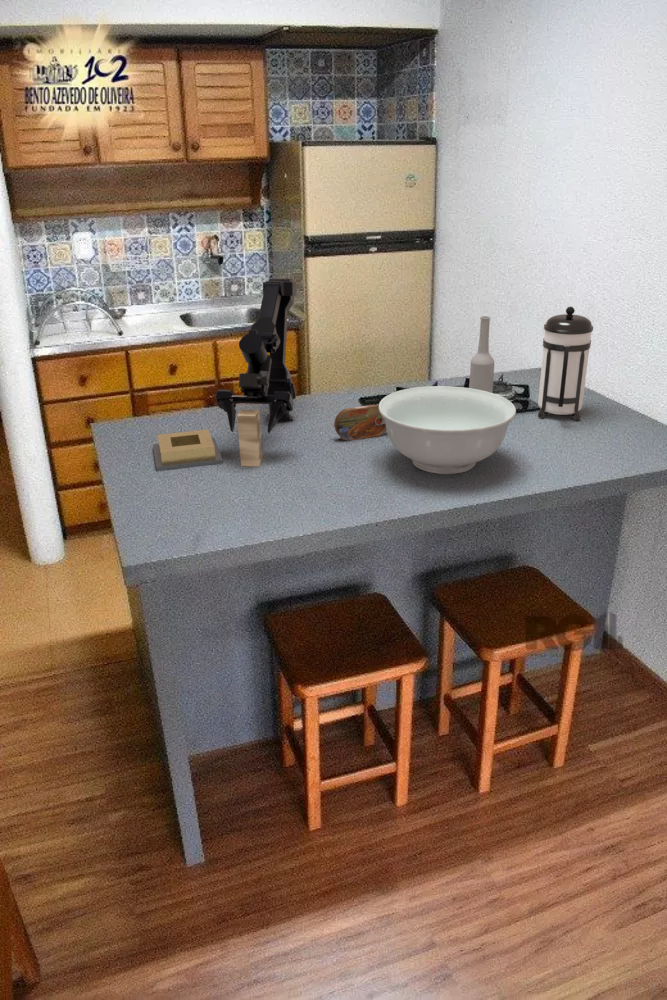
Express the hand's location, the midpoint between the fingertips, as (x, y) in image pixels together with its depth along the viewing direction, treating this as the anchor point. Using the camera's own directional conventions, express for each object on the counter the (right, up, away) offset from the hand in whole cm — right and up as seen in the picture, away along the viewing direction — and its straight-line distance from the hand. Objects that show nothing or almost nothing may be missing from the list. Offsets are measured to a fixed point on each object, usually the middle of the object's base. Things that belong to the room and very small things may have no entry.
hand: (250, 431), depth 188 cm
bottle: (+61, +7, +31) cm, 69 cm away
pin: (0, -7, +3) cm, 8 cm away
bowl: (+47, -8, +1) cm, 48 cm away
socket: (-17, -5, +9) cm, 20 cm away
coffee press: (+84, +7, +30) cm, 90 cm away
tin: (+28, 0, +18) cm, 33 cm away
